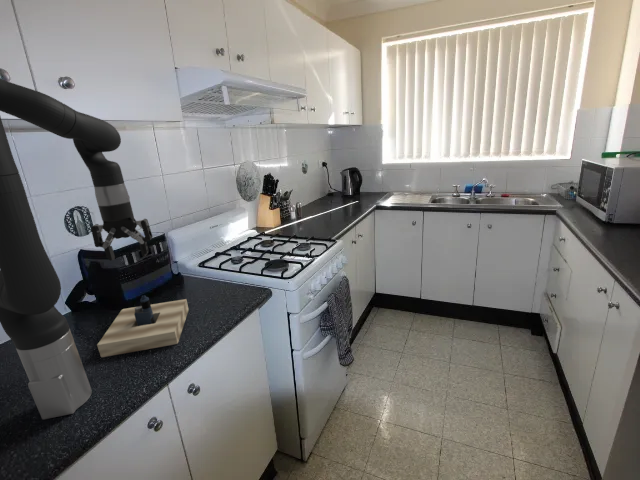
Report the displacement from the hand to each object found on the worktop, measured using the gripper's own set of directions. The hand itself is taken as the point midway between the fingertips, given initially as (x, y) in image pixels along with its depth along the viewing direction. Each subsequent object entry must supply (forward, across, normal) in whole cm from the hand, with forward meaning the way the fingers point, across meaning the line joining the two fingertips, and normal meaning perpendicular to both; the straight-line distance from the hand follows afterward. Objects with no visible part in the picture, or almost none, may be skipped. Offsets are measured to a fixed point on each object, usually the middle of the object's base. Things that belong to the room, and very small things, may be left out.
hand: (128, 257), depth 96 cm
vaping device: (+24, 0, 0) cm, 24 cm away
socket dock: (+24, 0, 0) cm, 24 cm away
